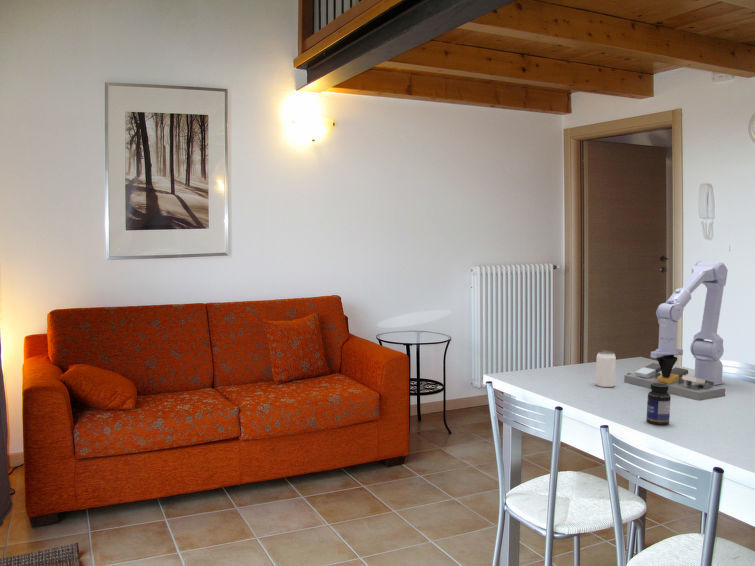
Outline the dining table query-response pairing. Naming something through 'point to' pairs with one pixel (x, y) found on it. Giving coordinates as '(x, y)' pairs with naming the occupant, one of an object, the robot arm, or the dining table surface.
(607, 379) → the can
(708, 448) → the dining table surface
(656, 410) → the pill bottle
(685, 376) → the rocker
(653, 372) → the rocker
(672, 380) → the block
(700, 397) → the rocker switch panel
